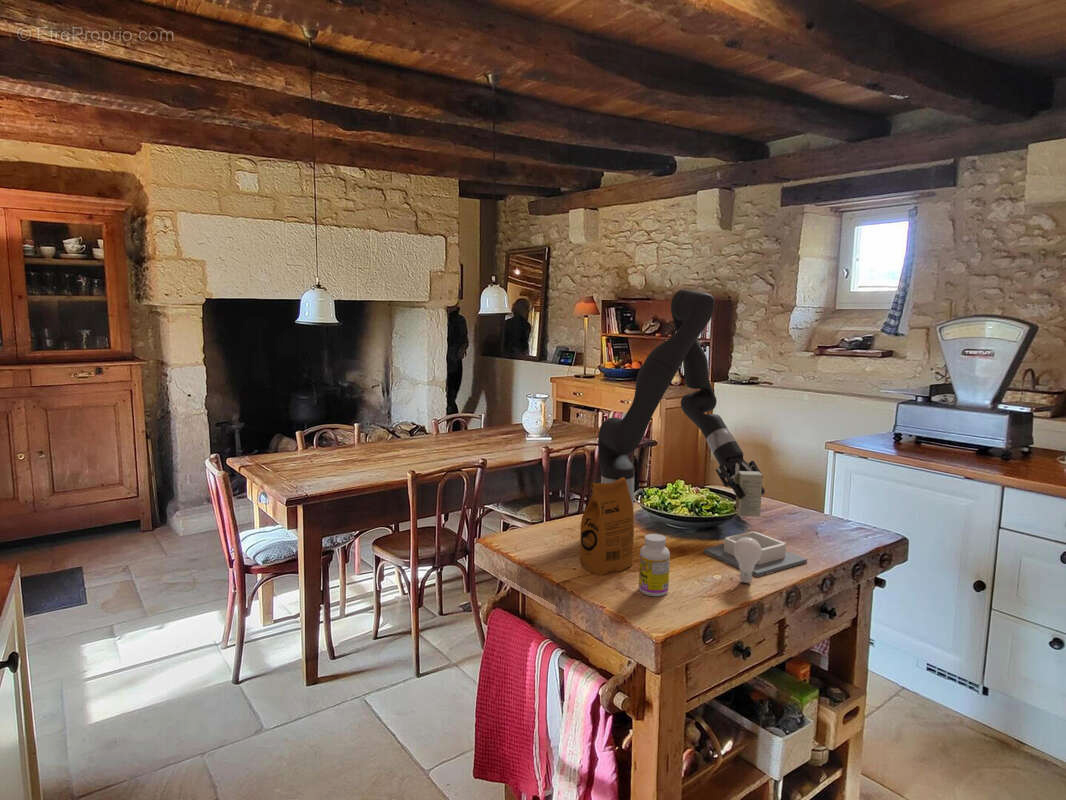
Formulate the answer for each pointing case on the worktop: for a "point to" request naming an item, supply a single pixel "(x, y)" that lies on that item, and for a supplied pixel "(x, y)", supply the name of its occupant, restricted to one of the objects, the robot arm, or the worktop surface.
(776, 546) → the holder
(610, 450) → the robot arm
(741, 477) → the skincare box
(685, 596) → the worktop surface
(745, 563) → the lightbulb
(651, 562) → the supplement bottle
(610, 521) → the coffee package
